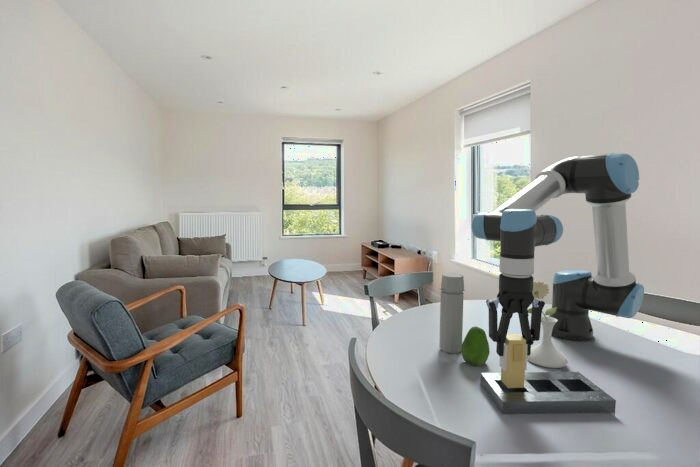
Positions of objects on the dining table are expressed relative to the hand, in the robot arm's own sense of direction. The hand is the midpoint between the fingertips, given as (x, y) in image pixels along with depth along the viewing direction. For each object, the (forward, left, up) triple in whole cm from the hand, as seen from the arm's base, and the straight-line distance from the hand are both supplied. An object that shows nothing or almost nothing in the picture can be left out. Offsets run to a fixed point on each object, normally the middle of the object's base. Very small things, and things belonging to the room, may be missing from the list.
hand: (512, 367), depth 94 cm
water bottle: (+6, -32, -9) cm, 34 cm away
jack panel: (-8, 0, -9) cm, 12 cm away
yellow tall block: (0, 0, -4) cm, 4 cm away
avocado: (+2, -20, -9) cm, 22 cm away
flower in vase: (-19, -21, -9) cm, 29 cm away
